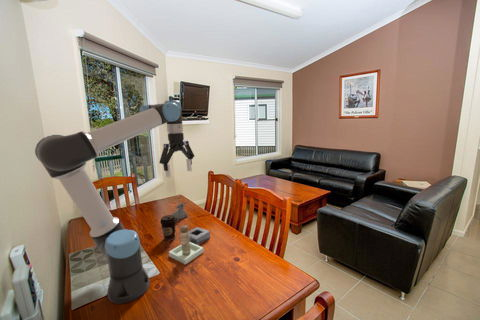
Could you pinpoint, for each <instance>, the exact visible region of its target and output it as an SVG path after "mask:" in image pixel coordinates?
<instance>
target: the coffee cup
mask: <svg viewBox="0 0 480 320" xmlns="http://www.w3.org/2000/svg"><path fill="white" fill-rule="evenodd" d="M176 221H177V219H176V218H175V216H174V215H172V214H167V215H164V216H161V218H160V222H159V223H160V225H161V230H162V235H163V240H164V241H168V242H169V241H174V240H175V239H176V234H175V233H176V231H177V224H176Z"/></svg>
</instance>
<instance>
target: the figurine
mask: <svg viewBox="0 0 480 320" xmlns="http://www.w3.org/2000/svg"><path fill="white" fill-rule="evenodd" d="M184 207H186V206H185V204H184V203H183V202H181V203H180V202H178V204H177V205H176V207H175V209H176V210H175V211H174V212H172V214H171V215H174V216H175V218H176V221H177V222H178V221H180V220H183V219H185V218H188V217H189V216H188V215H187V212H186V211H185V208H184Z"/></svg>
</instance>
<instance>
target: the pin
mask: <svg viewBox="0 0 480 320" xmlns="http://www.w3.org/2000/svg"><path fill="white" fill-rule="evenodd" d="M189 231H190V230H189V226H188V224H187V225H186V224H185V225H181V226H180V227H179V233H180V240H181V241H180V243H181V244H182V254H183V255H189V254H190V253H191V251H190V240H189ZM181 244H180V245H181Z"/></svg>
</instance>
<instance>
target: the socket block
mask: <svg viewBox="0 0 480 320" xmlns="http://www.w3.org/2000/svg"><path fill="white" fill-rule="evenodd" d="M210 232H211V231H210V230H209V229H206V228H202V227H199V226H195V227H194V228H192V229H191V230H189V240H190V242H191V243H194V244H196V245H198V246H200V245H201V244H203V243H205V241H207V240H209V239H210V238H211V233H210Z"/></svg>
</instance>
